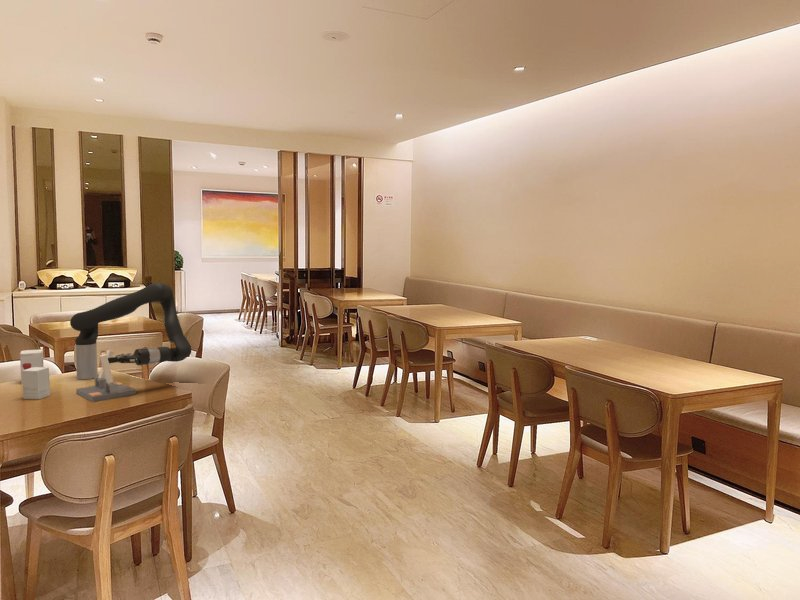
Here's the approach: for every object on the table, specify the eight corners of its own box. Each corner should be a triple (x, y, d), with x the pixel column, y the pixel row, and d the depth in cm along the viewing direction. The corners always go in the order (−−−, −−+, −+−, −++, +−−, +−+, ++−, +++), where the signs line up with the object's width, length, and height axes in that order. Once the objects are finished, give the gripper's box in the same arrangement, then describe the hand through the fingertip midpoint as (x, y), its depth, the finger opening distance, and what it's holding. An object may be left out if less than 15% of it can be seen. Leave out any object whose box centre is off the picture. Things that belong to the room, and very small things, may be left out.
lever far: (96, 382, 249) (107, 349, 252) (101, 382, 251) (112, 350, 254) (98, 383, 247) (109, 350, 250) (103, 384, 249) (114, 351, 252)
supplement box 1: (20, 384, 261) (19, 353, 260) (22, 380, 269) (20, 350, 267) (43, 382, 265) (42, 351, 264) (44, 378, 273) (43, 348, 272)
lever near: (107, 387, 242) (98, 355, 238) (113, 385, 244) (104, 353, 240) (110, 389, 240) (101, 356, 236) (115, 387, 242) (107, 354, 238)
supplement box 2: (51, 395, 242) (49, 367, 241) (38, 399, 235) (36, 370, 234) (35, 394, 243) (34, 366, 242) (22, 399, 236) (20, 370, 235)
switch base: (76, 393, 246) (75, 380, 246) (118, 386, 259) (118, 373, 259) (92, 401, 233) (92, 388, 232) (136, 394, 246) (135, 380, 245)
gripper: (140, 346, 257) (101, 350, 244) (153, 349, 248) (113, 354, 235) (141, 362, 257) (101, 367, 244) (153, 366, 248) (113, 371, 236)
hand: (107, 360), depth 240 cm, fingers closed
